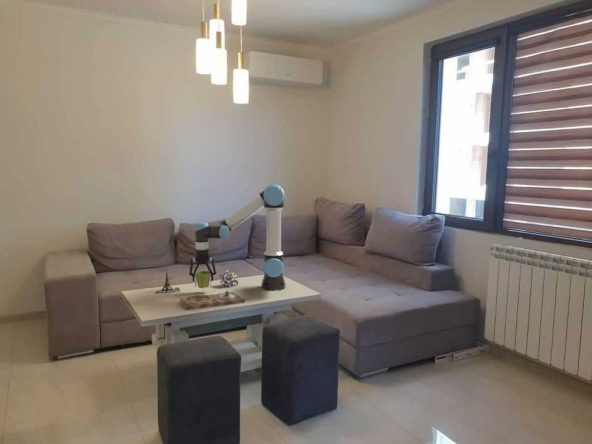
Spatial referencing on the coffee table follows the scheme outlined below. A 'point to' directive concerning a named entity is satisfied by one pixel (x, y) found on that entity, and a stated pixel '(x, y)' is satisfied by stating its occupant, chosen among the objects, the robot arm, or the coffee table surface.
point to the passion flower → (229, 278)
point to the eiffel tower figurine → (169, 286)
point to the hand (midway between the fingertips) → (203, 286)
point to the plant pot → (203, 278)
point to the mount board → (210, 300)
